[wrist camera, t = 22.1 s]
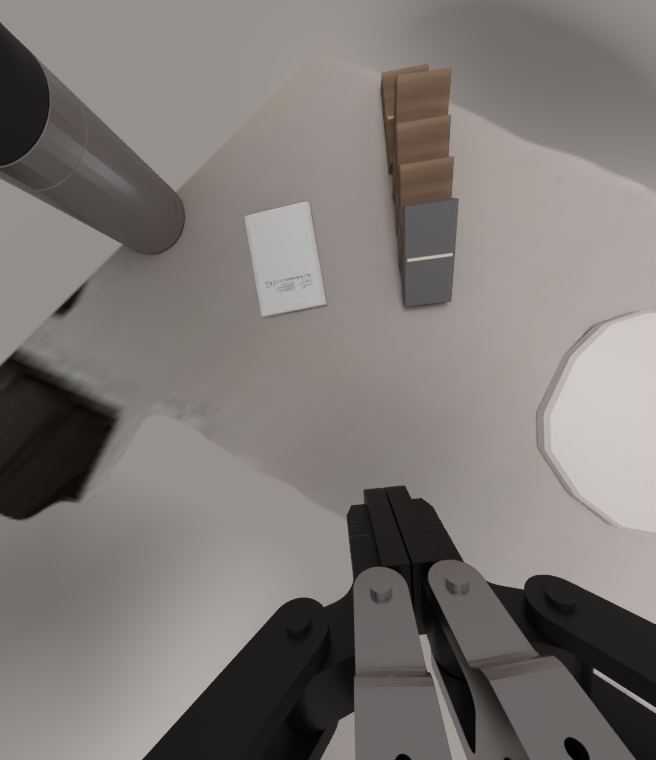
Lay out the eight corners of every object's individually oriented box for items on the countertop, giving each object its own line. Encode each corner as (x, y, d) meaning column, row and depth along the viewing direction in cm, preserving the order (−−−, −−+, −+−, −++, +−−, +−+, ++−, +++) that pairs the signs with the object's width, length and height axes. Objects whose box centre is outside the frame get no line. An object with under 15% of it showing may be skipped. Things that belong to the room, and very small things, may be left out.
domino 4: (446, 265, 35) (454, 156, 30) (401, 271, 35) (400, 165, 30) (442, 261, 37) (447, 157, 31) (398, 266, 37) (397, 165, 32)
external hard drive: (311, 207, 39) (327, 306, 39) (247, 222, 40) (264, 319, 40) (308, 200, 37) (326, 303, 37) (243, 215, 38) (260, 316, 38)
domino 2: (440, 192, 35) (451, 67, 29) (394, 196, 35) (397, 74, 30) (436, 191, 36) (445, 73, 31) (392, 195, 37) (394, 80, 31)
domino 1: (436, 156, 34) (428, 63, 34) (390, 163, 35) (382, 72, 35) (432, 167, 36) (424, 80, 36) (388, 174, 37) (380, 89, 37)
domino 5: (451, 301, 35) (458, 198, 30) (405, 306, 35) (405, 206, 30) (446, 295, 37) (452, 197, 31) (402, 300, 37) (401, 205, 32)
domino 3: (444, 230, 35) (451, 114, 29) (398, 236, 35) (397, 124, 30) (439, 227, 36) (444, 117, 31) (396, 233, 37) (394, 126, 32)
